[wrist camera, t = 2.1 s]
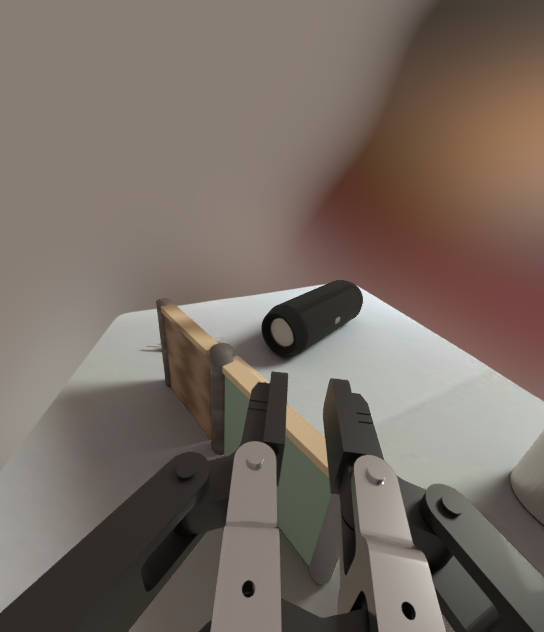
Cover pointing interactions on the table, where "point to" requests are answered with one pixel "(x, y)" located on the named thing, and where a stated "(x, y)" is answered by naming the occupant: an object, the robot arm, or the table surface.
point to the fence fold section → (292, 477)
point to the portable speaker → (310, 317)
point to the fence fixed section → (195, 369)
